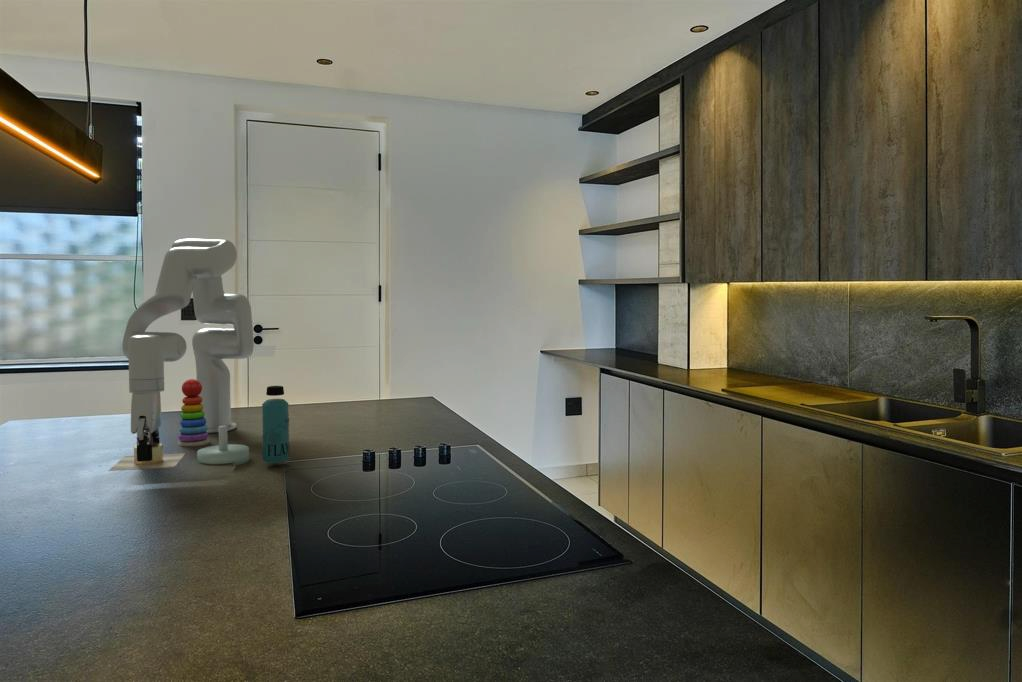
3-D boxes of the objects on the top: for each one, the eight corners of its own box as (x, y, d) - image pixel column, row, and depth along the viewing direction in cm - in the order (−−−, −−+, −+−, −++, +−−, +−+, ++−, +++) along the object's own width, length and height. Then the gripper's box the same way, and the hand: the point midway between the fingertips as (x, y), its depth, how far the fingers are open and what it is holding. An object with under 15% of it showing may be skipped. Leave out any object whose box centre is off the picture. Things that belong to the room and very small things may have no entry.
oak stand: (125, 460, 166) (124, 432, 166) (185, 456, 170) (185, 430, 169) (108, 474, 153) (107, 445, 152) (174, 471, 157) (173, 442, 156)
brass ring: (138, 459, 163) (137, 443, 163) (165, 457, 165) (164, 442, 165) (131, 465, 158) (131, 449, 157) (159, 463, 159) (159, 447, 159)
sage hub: (201, 456, 170) (201, 422, 170) (251, 454, 174) (250, 421, 173) (193, 469, 159) (192, 432, 158) (246, 466, 162) (245, 430, 161)
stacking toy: (215, 443, 185) (214, 378, 184) (199, 450, 177) (197, 381, 176) (189, 442, 186) (187, 377, 184) (171, 449, 178) (170, 380, 177)
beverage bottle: (263, 470, 159) (262, 388, 157) (260, 463, 165) (259, 384, 163) (291, 467, 162) (291, 387, 160) (287, 461, 168) (286, 383, 166)
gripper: (139, 381, 167) (140, 449, 168) (119, 391, 150) (121, 467, 152) (171, 380, 169) (173, 448, 171) (155, 390, 153) (157, 465, 154)
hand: (148, 456), depth 161 cm, fingers open, 6 cm apart
